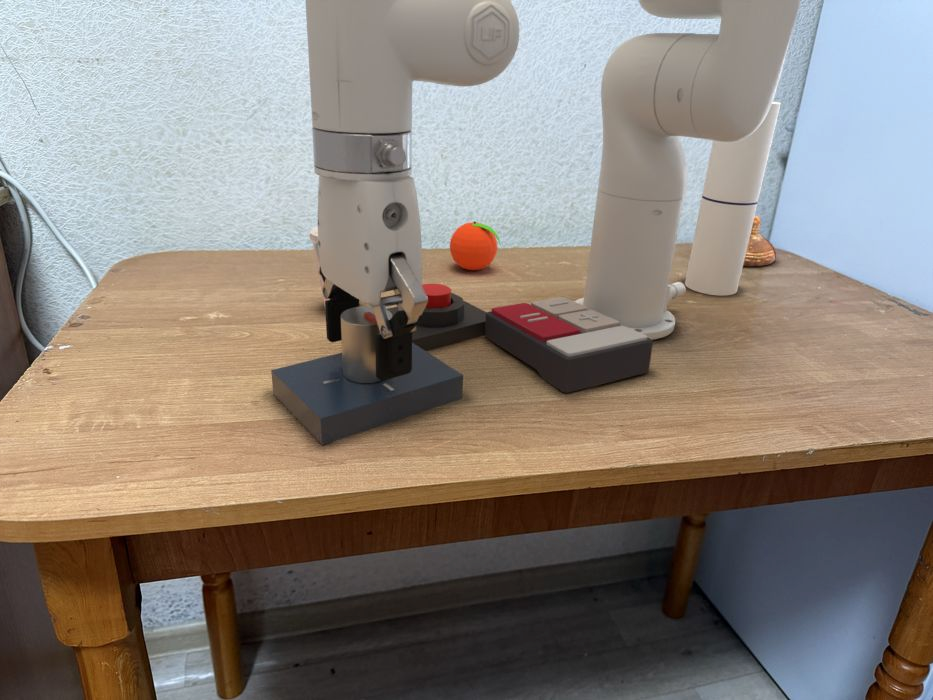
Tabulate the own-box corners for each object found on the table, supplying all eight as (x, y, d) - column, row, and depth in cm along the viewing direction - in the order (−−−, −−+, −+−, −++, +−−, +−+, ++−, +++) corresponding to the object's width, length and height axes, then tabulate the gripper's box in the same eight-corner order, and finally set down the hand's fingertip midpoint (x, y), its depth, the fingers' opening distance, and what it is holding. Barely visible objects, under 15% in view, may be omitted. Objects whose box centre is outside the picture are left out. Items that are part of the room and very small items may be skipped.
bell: (695, 244, 114) (703, 203, 111) (766, 251, 112) (777, 209, 109) (703, 263, 103) (713, 218, 100) (782, 270, 102) (794, 225, 98)
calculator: (563, 292, 76) (656, 333, 64) (561, 327, 78) (650, 372, 66) (484, 305, 71) (568, 352, 59) (483, 341, 73) (564, 394, 61)
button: (437, 295, 75) (437, 281, 74) (457, 306, 72) (458, 291, 72) (408, 301, 73) (408, 286, 72) (428, 312, 70) (428, 297, 69)
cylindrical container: (682, 290, 91) (720, 100, 80) (686, 276, 97) (722, 98, 86) (736, 298, 88) (782, 104, 78) (737, 283, 94) (779, 101, 84)
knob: (334, 368, 58) (331, 308, 56) (376, 357, 61) (375, 299, 58) (357, 387, 55) (356, 325, 53) (401, 375, 58) (401, 315, 55)
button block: (451, 307, 81) (452, 280, 79) (497, 331, 74) (499, 303, 73) (366, 326, 74) (366, 297, 72) (409, 355, 67) (409, 324, 66)
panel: (404, 359, 66) (404, 335, 65) (462, 399, 59) (463, 373, 58) (273, 394, 59) (270, 368, 57) (322, 445, 51) (320, 416, 50)
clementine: (510, 270, 96) (514, 222, 93) (486, 281, 90) (489, 231, 87) (465, 259, 99) (467, 213, 96) (439, 270, 94) (441, 221, 91)
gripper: (469, 168, 46) (459, 384, 53) (353, 138, 58) (358, 316, 66) (377, 175, 42) (380, 409, 49) (272, 141, 54) (287, 331, 61)
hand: (367, 355), depth 57 cm, fingers open, 8 cm apart
